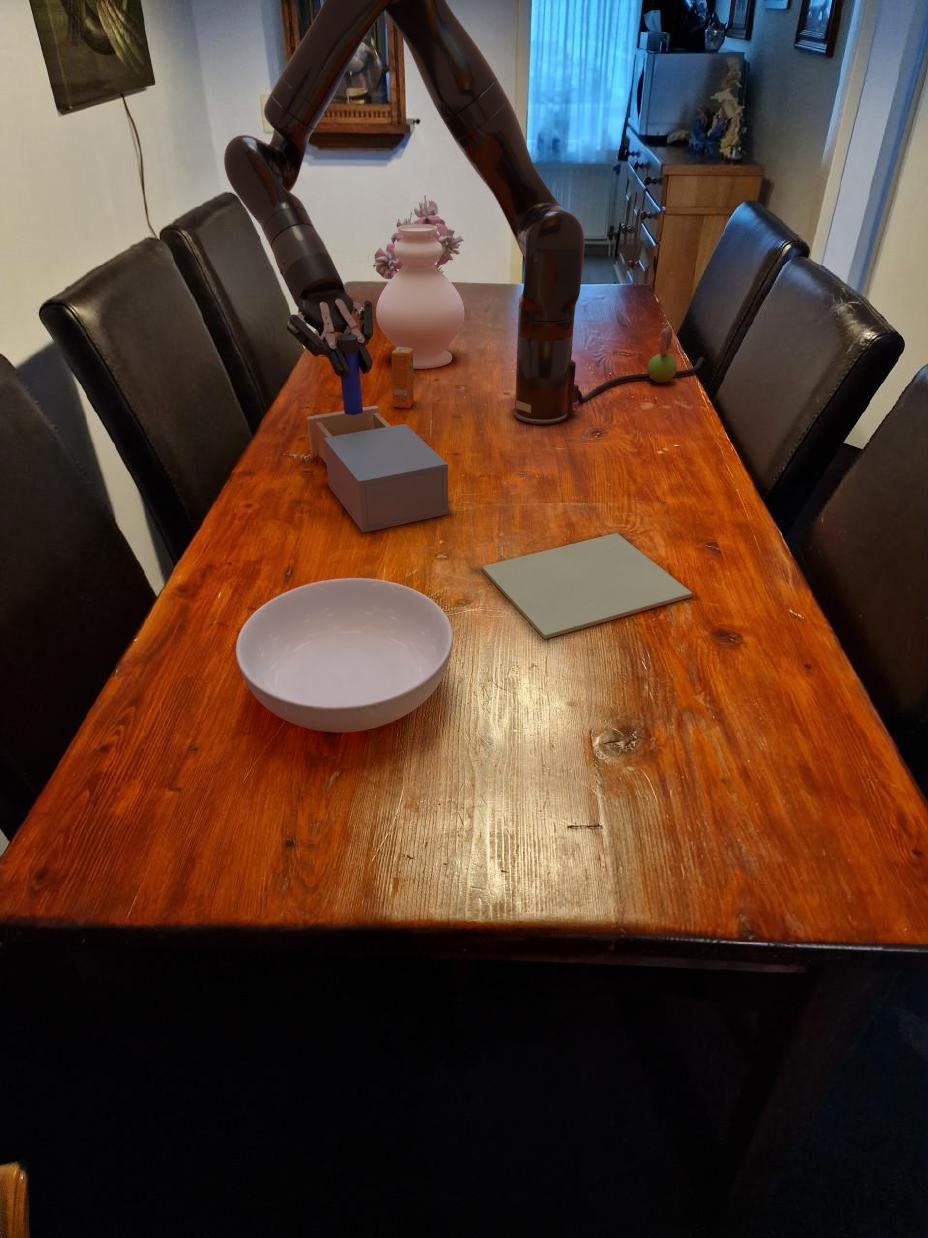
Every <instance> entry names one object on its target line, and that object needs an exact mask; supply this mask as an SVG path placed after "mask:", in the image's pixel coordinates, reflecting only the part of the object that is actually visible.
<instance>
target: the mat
mask: <svg viewBox="0 0 928 1238" xmlns="http://www.w3.org/2000/svg"><path fill="white" fill-rule="evenodd" d="M481 571H482V572H483V574H485V575H486V577H487V578H488V579H489V580H490V581H491V583H492V584H493V585H495V586H496V588H497V589H498V590H499V591H500V592H501V593H502V594H503V595H504V597H505V598H506V599H507V600H508V602H510V603H511V605H513V606H514V607H515V609H516V610H517V611H518V612H519V614H521V615H522V616H523V618H525V620H526V621H527V622H528V623H529V624H530V625H531V626H532V627H533V628H534V629H535V631H537V633H538V634H539V635H540V636H541V637H542V638H543V639H544V640H549V639H551V638H554V637H558V636H561V635H564V634H569V633H572V632H575V631H578V630H582V629H586V628H589V627H592V626H596V625H600V624H603V623H606V622H610V621H613V620H617V619H621V618H623V617H627V616H631V615H634V614H638V613H640V612H644V611H649V610H650V609H655V608H658V607H661V606H665V605H669V604H671V603H675V602H679V601H682V600H686V599H690V598H692V597H693V592H692V591H691V590H690V589H688V588H687V587H686V586H684V585H683V584H682V583H680V581H678V580H677V579H676V578H675V577H674V576H672V575H670V573H668V572H667V571H666V570H665V569H663V568H662V567H661V566H659V565H658V564H657V563H655V562H654V560H652V559H650V558H649V557H648V556H647V555H645V553H643V552H642V551H640V550H639V549H638V548H636V547H635V546H634V545H633V544H632V543H631V542H629V541H628V540H627V539H626V538H625V537H623V536H622V535H620V534H619V533H618V532H615V533H611V534H606V535H603V536H599V537H594V538H591V539H587V540H586V539H585V540H583V541H578V542H574V543H570V544H566V545H563V546H558V547H554V548H550V549H546V550H542V551H541V550H540V551H538V552H533V553H529V554H526V555H521V556H517V557H513V558H509V559H505V560H501V561H497V562H494V563H489V564H485V565H481Z"/></svg>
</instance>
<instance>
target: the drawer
mask: <svg viewBox="0 0 928 1238" xmlns="http://www.w3.org/2000/svg"><path fill="white" fill-rule="evenodd" d="M306 423H307V432H308V441H309V450H310V453H311V454H312V455H319V457H320V458H321V459H322V461H323V462H324V463H325V464H326V457H325V447H324V439H323V438H327V437H333V436H338V435H344V434H350V433H356V432H361V431H367V430H373V429H379V428H384V427H390V426H392V425H391V424H390V423H389V422H388V421H387V420H386V419H385V418H384V417H383V416H382V415H381V414H380V408H379V407H378V405H370V406H366V407H364V406H363V412H362V413H360V414H357V415H348V414H345V413H344V410H340V411H334V412H327V413H322V414H316V415H309V416H306Z"/></svg>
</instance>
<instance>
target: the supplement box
mask: <svg viewBox="0 0 928 1238" xmlns="http://www.w3.org/2000/svg"><path fill="white" fill-rule="evenodd" d="M391 391H392V392H391V393H392V394H391V395H392V396H391V397H392V399H391V400H392V407H393V408H400V409H410V408H411V406H412V405H413V404H414V368H413V349H411V348H406V347H396V348H395V349H393V350H392V351H391Z"/></svg>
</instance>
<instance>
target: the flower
mask: <svg viewBox="0 0 928 1238" xmlns="http://www.w3.org/2000/svg"><path fill="white" fill-rule="evenodd" d="M423 200H424V202H422V201H419V202H418V207H419V208H418V207H417V206H414V209H413V212H414V215H415V216H416V217H417V218H418V219H417V220H413V221H411V220H412V215H413V212H410V217H409V218H403V220H404V221H403V222H401V220H400V218H398V219H397V223H396V225H395V226H396V228H397V229H398V227H399V226H402V225H409V224H429V225H434V226H437V233H435V234H433V237H434V238H435V239H436V240H438V241H439V242H440V244H441V245H442V248H443V253H442V256H441V257H440V259H439V260H438V261H437V262H436V264H435V266H436V267H437V268H438V269H439V270H440V271H441V272H442V273H443V274H444V270H443V265H446V264H447V263H448V262H449V261H454V258H453V256H452V255H461V252H460V251H459V250H458V249H459V247H460V246H461V242H464V241H465V240H464V239H463V237H462V235H458V236H457V237H456V236H454V235H455V232H456V230H454V229H451V228H448V226H446V222H445V219H443V218H440V216H439V215H437V214H439V207H438V205H437V203H436V202H435V201H434V200H432V199H431V200H427V198H426V195H424V199H423ZM438 233H439V234H438ZM402 237H403V235H402V234H400V233H398V232H395V233H393V234H392V235H391V238H390V240H391V243H388V244H386V248H385V251H384V250H383V249H382V248H381V247H379V248H378V249H377V250H376V251H375V253H374V263H373V265H372V267H373V268H375V271H376V273H377V274H379V275H380V277H382V278H383V279H385V280H391V279H392V277H393V276H394V275H395V274H396V273H397V272H398V270H399V269H400V268H401V267H402V266H403V264H402V263H401V262H400V261H399V260H398V259H397V258H396V256H395V254H394V247H395V245H396V243H397V242H398V241H399V240H400V239H401V238H402ZM395 242H396V243H395Z"/></svg>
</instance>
